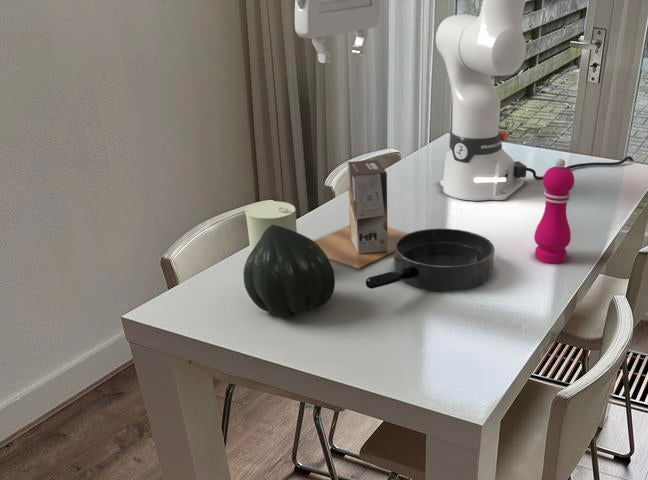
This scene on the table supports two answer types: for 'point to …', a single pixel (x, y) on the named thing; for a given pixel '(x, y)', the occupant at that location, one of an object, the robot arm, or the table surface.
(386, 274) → the pan handle
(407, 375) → the table surface
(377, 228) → the coffee box
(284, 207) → the can
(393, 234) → the wooden board
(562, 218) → the pepper mill
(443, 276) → the pan
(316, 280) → the squash
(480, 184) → the robot arm
